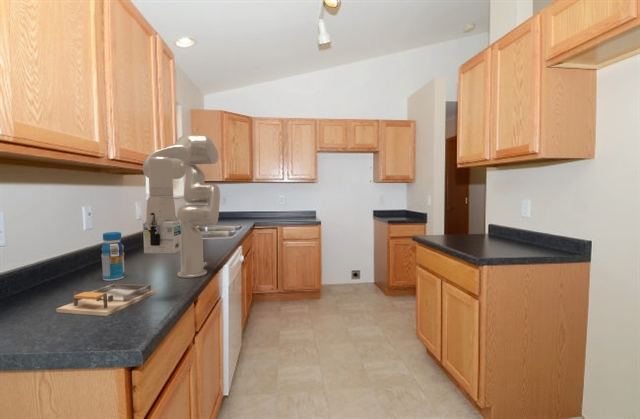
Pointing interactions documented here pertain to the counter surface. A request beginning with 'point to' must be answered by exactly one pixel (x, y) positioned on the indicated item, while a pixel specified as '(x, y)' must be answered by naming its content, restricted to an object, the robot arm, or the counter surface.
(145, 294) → the rail mount
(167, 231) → the light bulb box
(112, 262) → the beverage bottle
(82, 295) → the latch plate
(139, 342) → the counter surface
